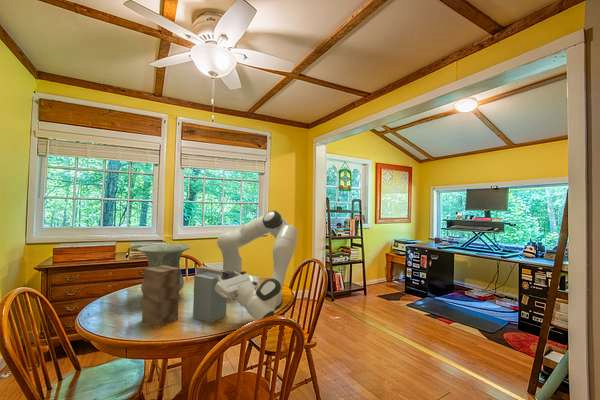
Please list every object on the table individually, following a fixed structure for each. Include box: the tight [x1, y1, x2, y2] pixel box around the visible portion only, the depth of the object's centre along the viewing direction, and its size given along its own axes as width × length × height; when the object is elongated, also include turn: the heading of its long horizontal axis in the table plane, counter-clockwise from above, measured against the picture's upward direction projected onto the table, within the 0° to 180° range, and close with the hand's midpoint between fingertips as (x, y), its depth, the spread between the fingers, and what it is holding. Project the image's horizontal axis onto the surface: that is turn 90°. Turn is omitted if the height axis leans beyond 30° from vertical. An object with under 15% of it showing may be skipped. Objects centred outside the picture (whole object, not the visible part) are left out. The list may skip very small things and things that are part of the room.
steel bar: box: [196, 265, 233, 279], centre depth 133 cm, size 3×22×3 cm, turn 59°
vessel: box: [136, 243, 191, 301], centre depth 154 cm, size 27×27×30 cm
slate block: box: [192, 273, 228, 324], centre depth 133 cm, size 10×12×20 cm
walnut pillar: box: [141, 265, 181, 328], centre depth 127 cm, size 10×12×24 cm
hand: (225, 274), depth 129 cm, fingers open, 8 cm apart
